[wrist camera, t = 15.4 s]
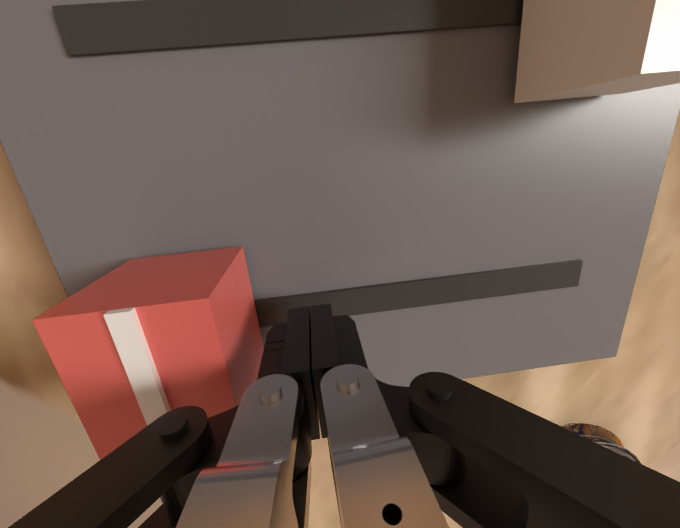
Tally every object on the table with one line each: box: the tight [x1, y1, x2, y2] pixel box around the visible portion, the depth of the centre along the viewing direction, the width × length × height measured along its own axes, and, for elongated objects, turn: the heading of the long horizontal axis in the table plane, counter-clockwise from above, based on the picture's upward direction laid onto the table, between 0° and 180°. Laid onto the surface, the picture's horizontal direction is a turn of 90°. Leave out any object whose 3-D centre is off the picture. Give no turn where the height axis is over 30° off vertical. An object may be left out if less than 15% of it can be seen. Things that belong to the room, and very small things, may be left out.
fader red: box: [32, 246, 264, 460], centre depth 10 cm, size 6×4×5 cm, turn 5°
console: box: [0, 0, 680, 387], centre depth 13 cm, size 20×24×3 cm
